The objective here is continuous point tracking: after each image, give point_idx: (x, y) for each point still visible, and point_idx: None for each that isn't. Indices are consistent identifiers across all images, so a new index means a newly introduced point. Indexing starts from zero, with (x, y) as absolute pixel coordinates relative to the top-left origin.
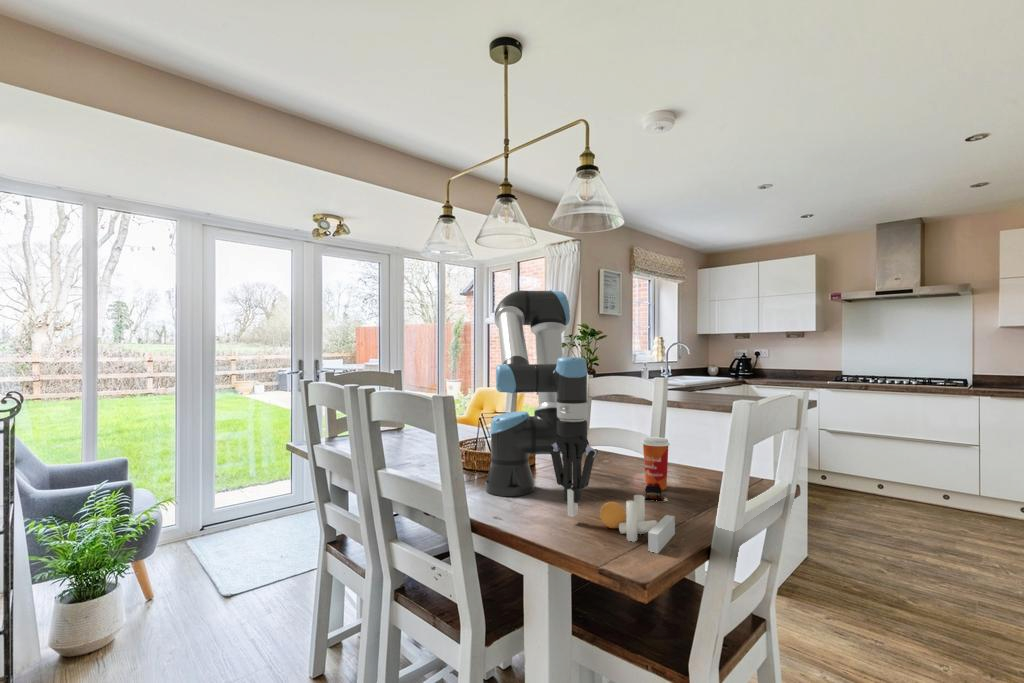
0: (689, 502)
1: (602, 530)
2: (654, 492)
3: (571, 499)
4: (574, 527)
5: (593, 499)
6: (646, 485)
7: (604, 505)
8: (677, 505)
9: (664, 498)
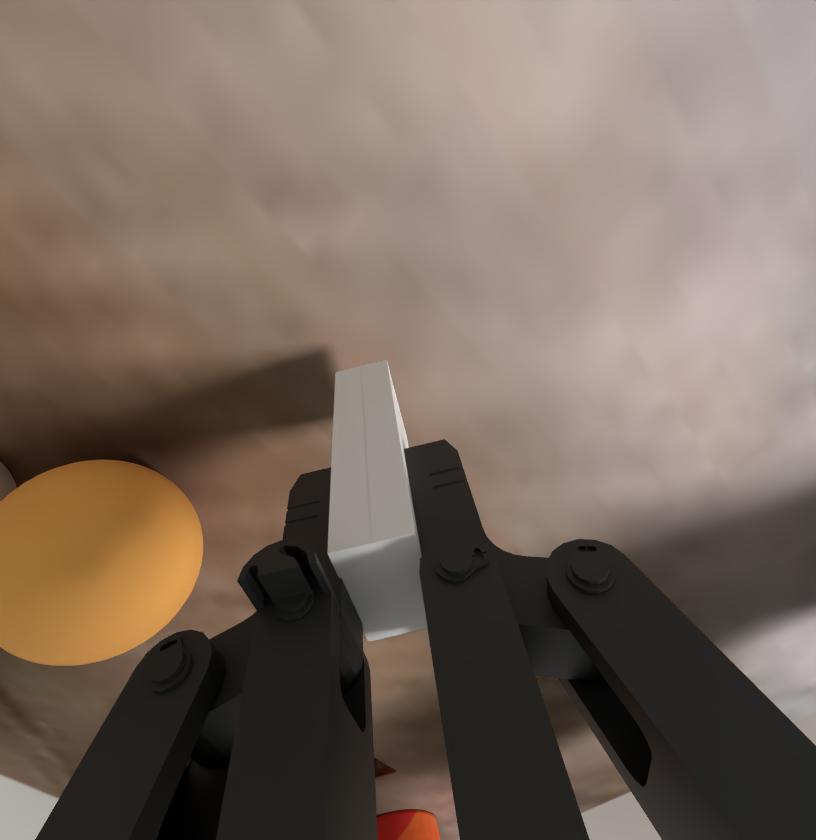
0: None
1: (125, 415)
2: None
3: (347, 462)
4: (294, 316)
5: None
6: (425, 822)
7: (92, 585)
8: None
9: None
